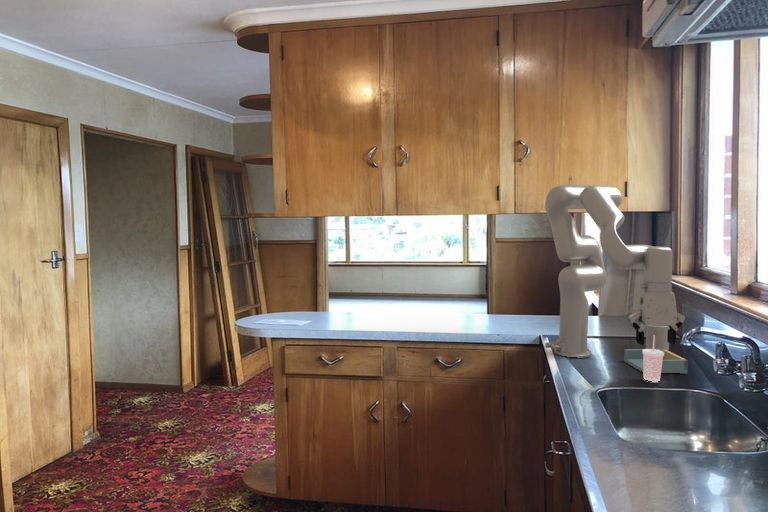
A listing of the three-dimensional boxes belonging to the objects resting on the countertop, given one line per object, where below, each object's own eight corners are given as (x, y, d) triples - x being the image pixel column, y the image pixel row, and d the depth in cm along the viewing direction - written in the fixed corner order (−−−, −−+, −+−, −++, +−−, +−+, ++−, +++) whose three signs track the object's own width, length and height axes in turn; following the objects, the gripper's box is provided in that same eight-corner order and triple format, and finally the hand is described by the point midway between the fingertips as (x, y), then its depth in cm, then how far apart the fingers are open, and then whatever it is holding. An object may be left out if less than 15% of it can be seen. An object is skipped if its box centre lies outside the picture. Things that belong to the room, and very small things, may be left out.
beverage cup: (636, 379, 180) (639, 334, 179) (647, 375, 184) (649, 331, 182) (655, 384, 175) (658, 338, 174) (666, 380, 179) (669, 335, 177)
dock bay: (644, 373, 185) (645, 361, 185) (623, 361, 199) (624, 349, 199) (687, 373, 186) (688, 360, 186) (663, 360, 200) (664, 348, 200)
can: (670, 356, 206) (672, 322, 205) (648, 355, 207) (649, 321, 206) (665, 350, 213) (667, 318, 212) (643, 349, 215) (644, 317, 213)
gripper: (635, 289, 172) (634, 347, 173) (692, 288, 173) (690, 345, 174) (623, 286, 179) (622, 341, 181) (678, 285, 180) (676, 340, 182)
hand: (655, 343), depth 178 cm, fingers open, 9 cm apart
